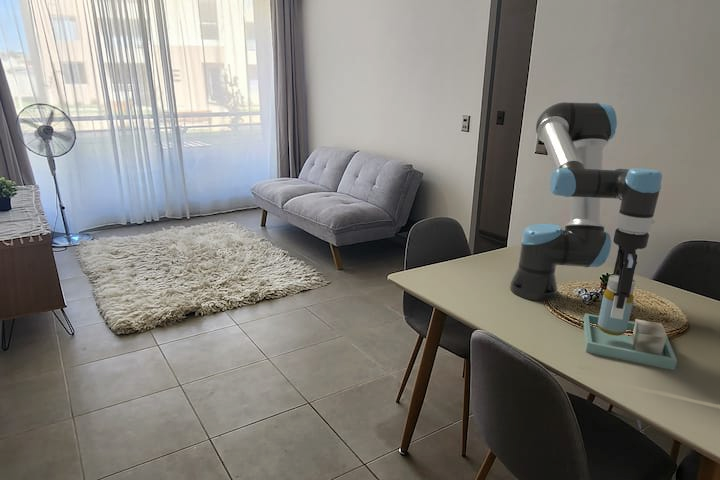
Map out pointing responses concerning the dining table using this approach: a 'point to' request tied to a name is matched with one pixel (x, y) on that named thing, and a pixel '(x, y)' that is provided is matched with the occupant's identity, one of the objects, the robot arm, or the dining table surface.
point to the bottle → (605, 320)
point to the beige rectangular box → (648, 337)
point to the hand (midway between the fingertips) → (614, 311)
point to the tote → (623, 346)
